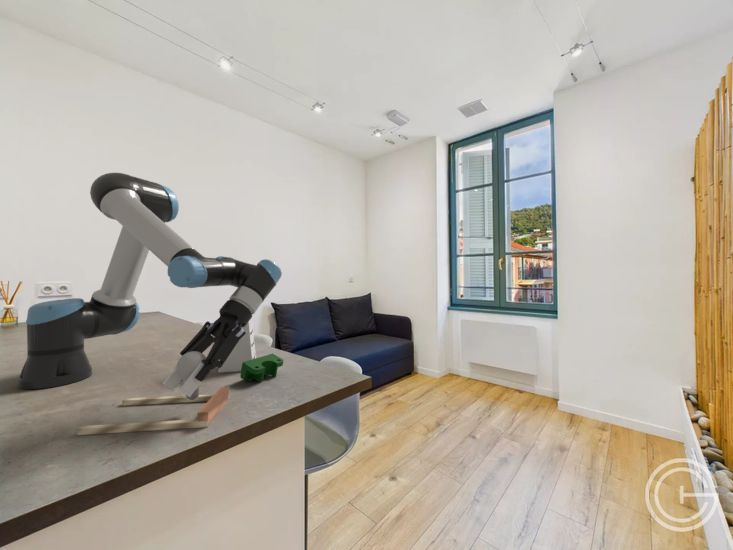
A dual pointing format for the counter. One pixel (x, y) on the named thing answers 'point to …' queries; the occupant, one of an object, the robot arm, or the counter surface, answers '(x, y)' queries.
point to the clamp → (260, 367)
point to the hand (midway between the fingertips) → (175, 390)
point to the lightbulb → (190, 368)
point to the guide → (203, 420)
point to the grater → (241, 351)
